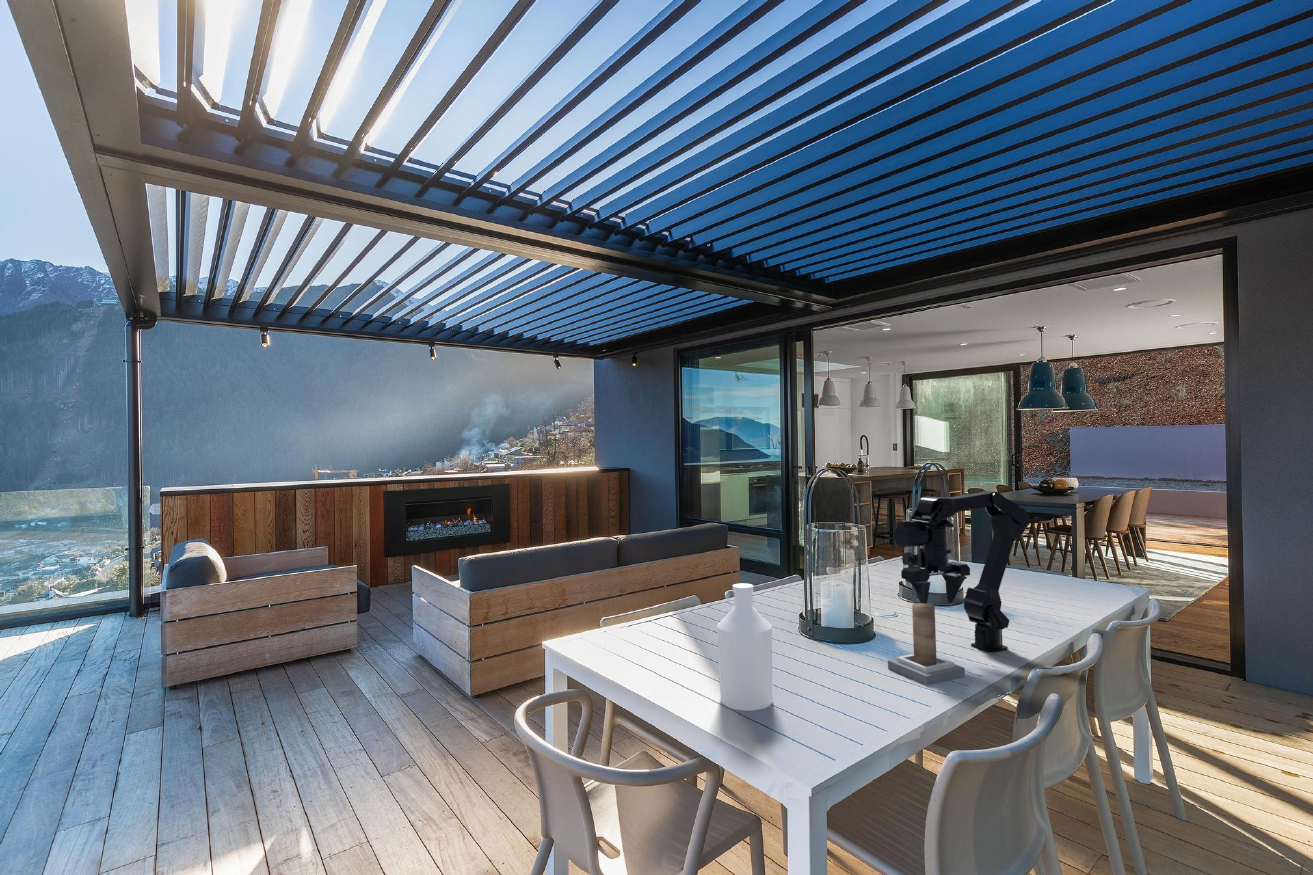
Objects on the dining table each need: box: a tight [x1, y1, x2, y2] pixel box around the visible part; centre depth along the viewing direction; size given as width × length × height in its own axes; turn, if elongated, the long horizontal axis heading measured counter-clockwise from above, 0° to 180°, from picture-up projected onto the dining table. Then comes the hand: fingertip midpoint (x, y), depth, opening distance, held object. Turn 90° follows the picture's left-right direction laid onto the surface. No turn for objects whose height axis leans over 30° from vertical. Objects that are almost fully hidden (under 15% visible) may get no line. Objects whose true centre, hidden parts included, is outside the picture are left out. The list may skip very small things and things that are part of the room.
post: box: [911, 602, 937, 667], centre depth 147 cm, size 5×5×14 cm
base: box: [887, 653, 966, 686], centre depth 147 cm, size 12×12×3 cm
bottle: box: [716, 582, 774, 712], centre depth 134 cm, size 12×12×25 cm
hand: (937, 604), depth 159 cm, fingers open, 9 cm apart
